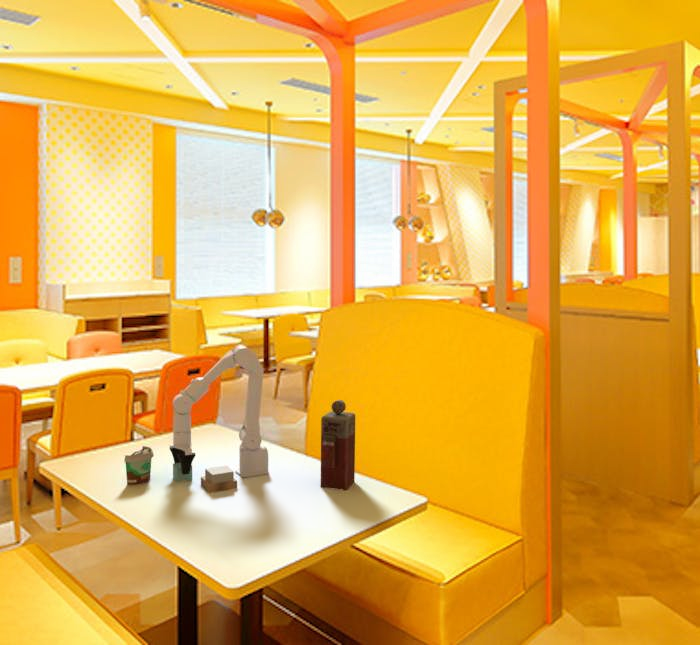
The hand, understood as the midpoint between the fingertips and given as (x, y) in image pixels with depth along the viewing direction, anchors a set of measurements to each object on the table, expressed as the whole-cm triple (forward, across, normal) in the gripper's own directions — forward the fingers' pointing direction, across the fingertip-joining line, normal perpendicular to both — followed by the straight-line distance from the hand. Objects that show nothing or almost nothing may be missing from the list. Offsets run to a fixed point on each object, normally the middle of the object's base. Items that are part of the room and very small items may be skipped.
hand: (182, 470), depth 226 cm
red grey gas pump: (+3, +30, +42) cm, 52 cm away
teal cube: (+3, 0, 0) cm, 3 cm away
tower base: (+3, +13, +8) cm, 16 cm away
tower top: (0, +13, +8) cm, 16 cm away
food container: (+3, -4, -12) cm, 13 cm away
